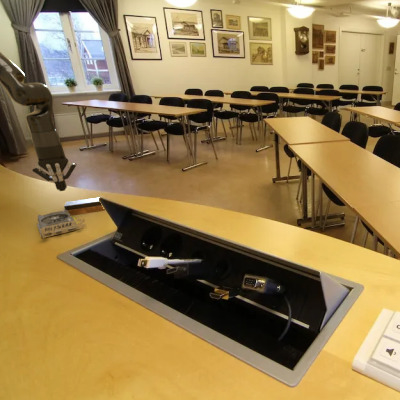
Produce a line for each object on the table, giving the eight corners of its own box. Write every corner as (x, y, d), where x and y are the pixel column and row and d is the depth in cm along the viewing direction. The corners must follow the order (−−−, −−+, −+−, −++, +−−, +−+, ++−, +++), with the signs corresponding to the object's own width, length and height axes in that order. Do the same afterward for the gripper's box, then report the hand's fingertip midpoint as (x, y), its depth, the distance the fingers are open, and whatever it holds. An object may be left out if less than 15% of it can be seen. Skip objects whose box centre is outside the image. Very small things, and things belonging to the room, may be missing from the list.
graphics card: (84, 219, 109) (38, 229, 101) (87, 229, 110) (42, 240, 102) (75, 205, 120) (33, 213, 112) (77, 214, 121) (36, 223, 113)
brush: (61, 206, 117) (103, 200, 123) (64, 201, 122) (104, 196, 127) (64, 216, 119) (105, 210, 124) (67, 210, 123) (106, 204, 129)
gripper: (72, 140, 117) (85, 184, 124) (26, 143, 112) (42, 190, 118) (68, 144, 111) (82, 190, 118) (19, 148, 105) (37, 196, 112)
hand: (62, 190), depth 118 cm, fingers closed
